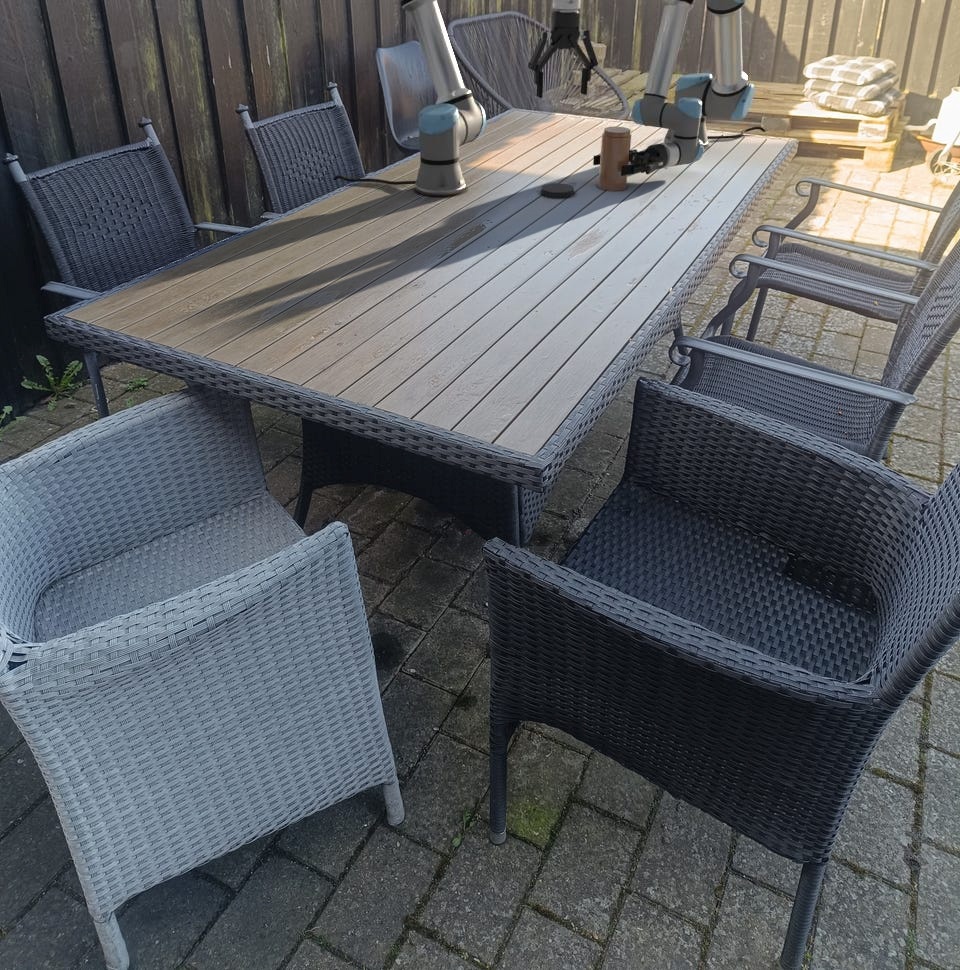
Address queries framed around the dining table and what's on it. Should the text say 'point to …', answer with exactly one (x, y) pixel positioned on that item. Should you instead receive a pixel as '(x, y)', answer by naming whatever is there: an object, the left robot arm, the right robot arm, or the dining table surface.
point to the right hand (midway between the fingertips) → (607, 165)
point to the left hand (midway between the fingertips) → (561, 95)
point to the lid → (557, 190)
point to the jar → (614, 158)
